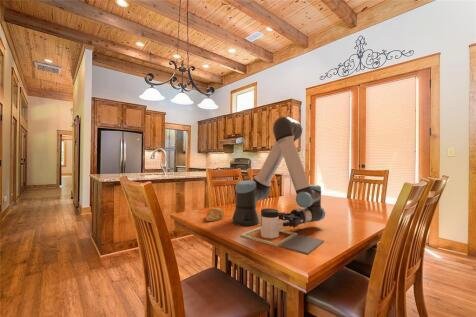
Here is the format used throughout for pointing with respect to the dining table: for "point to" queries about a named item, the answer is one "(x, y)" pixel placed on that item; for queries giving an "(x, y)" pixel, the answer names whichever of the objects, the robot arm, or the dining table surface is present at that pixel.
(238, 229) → the dining table surface
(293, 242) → the mat
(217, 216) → the croissant
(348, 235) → the dining table surface
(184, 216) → the dining table surface
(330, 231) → the dining table surface
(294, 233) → the frame
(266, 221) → the jar
